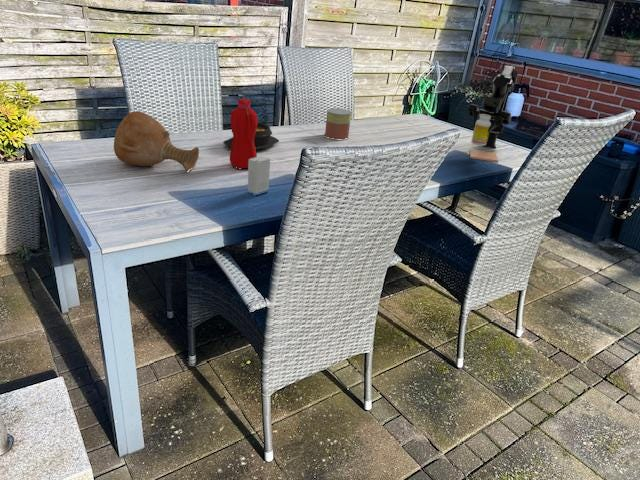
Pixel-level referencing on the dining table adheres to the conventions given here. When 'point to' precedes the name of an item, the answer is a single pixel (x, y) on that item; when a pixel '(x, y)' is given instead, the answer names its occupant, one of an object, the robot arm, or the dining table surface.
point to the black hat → (259, 137)
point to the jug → (148, 143)
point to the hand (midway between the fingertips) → (480, 129)
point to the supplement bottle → (481, 130)
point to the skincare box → (258, 174)
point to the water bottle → (243, 134)
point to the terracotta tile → (483, 155)
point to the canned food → (337, 123)
